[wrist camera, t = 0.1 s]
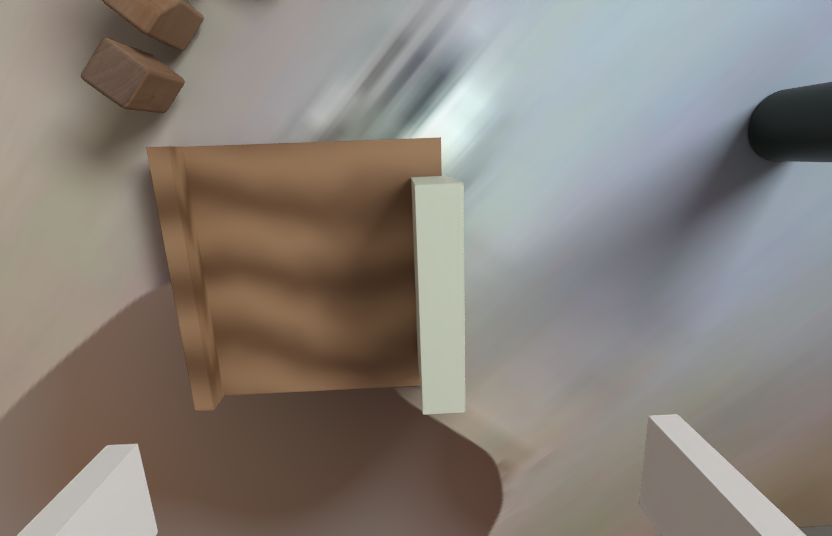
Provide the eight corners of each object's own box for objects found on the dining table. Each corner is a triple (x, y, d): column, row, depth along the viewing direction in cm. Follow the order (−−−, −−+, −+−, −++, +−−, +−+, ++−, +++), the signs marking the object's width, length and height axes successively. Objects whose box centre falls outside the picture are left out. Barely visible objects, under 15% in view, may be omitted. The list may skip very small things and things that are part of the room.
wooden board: (170, 147, 36) (146, 147, 32) (439, 138, 36) (443, 136, 33) (211, 389, 41) (195, 410, 38) (444, 377, 42) (448, 397, 39)
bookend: (411, 177, 36) (414, 185, 27) (447, 175, 36) (463, 183, 27) (417, 357, 40) (423, 414, 31) (450, 355, 40) (465, 412, 31)
